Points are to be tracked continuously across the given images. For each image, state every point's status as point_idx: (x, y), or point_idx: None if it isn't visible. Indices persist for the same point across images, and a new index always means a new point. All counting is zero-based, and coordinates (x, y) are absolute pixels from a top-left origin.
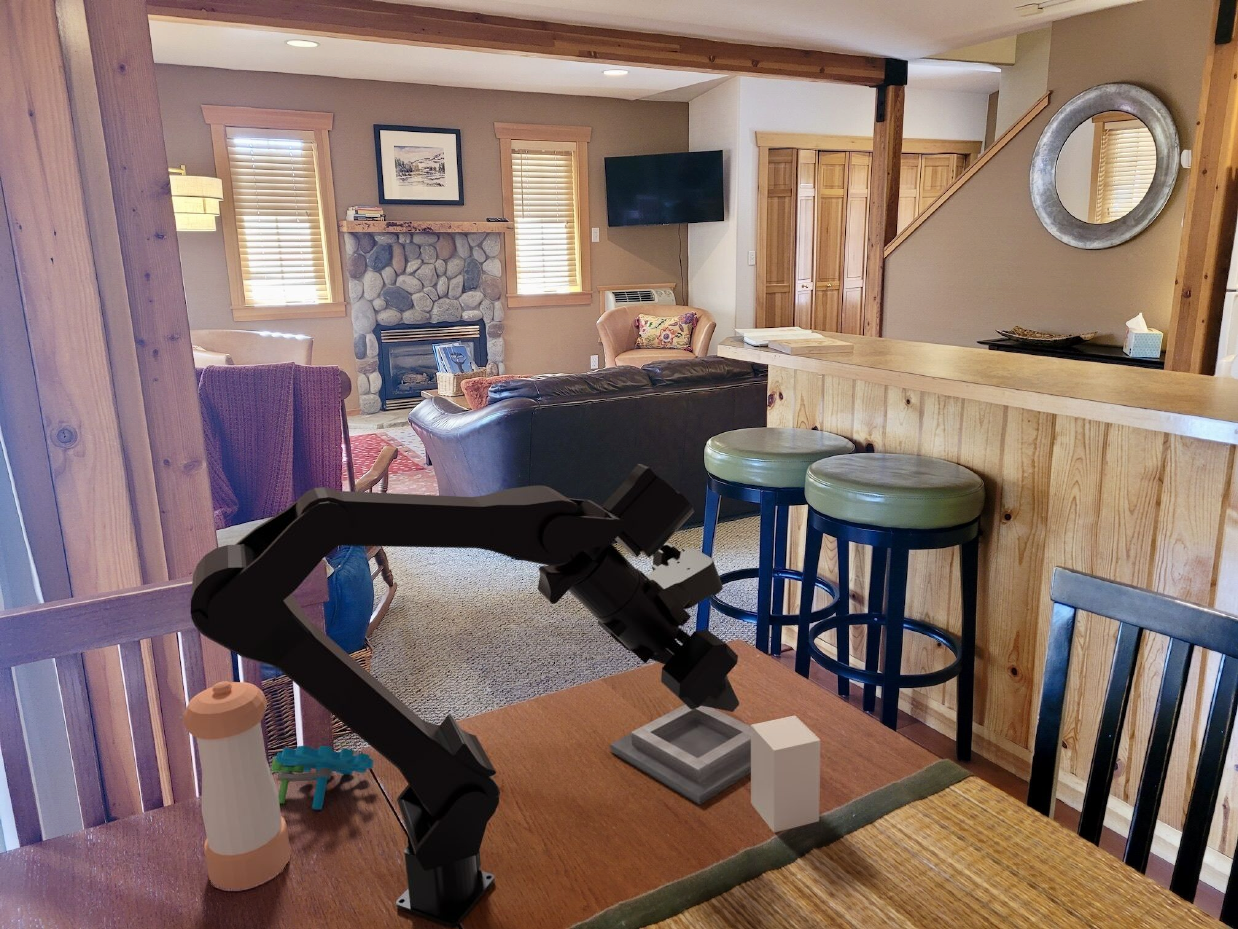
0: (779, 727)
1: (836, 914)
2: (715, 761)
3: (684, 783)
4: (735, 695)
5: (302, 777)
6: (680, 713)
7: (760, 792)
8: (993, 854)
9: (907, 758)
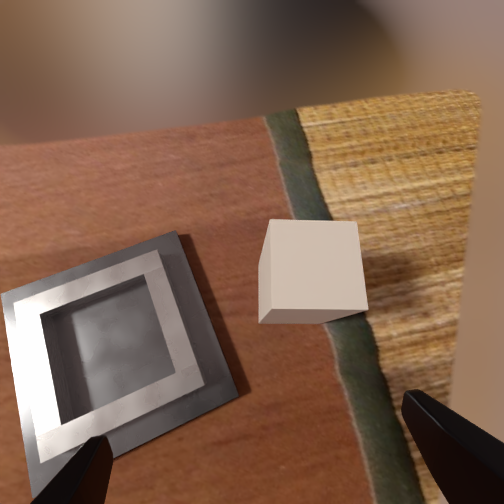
0: (298, 263)
1: (453, 325)
2: (191, 345)
3: (201, 405)
4: (472, 423)
5: None
6: (38, 344)
7: (290, 320)
8: (399, 152)
9: (246, 130)
